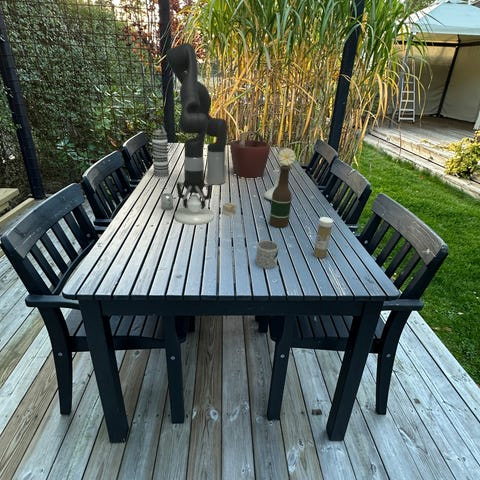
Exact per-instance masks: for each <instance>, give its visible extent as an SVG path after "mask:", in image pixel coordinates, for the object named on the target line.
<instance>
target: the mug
mask: <svg viewBox="0 0 480 480" xmlns="http://www.w3.org/2000/svg"><path fill="white" fill-rule="evenodd" d="M279 246H280V245H279V244H278V243H277V242H274V241H272V240H266V239H264V240H261V241H258V242H257V247H256V258H255V264H256V266H257V268H261V269H264V270H271V269H274V268H276V266H277V264H278V263H277V262H278V255H279V254H278V253H279V248H280V247H279Z"/></svg>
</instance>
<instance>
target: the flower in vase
mask: <svg viewBox="0 0 480 480" xmlns="http://www.w3.org/2000/svg"><path fill="white" fill-rule="evenodd" d="M277 156H278V157H277V159H278V161H279V163H280V164H282V165H286V166H289V167H290V170H289V171H291V170H293V166H292V164H294V162H295V161H296V157H297V156H296V153H295V151H294V149H291V148H288V147H286V148H284V149H281V150H280V151H279V154H278V155H277ZM274 167H276V168H278V169H275V170H273V175H274V185H273V187H271V188H270V189H268V190H267V191H266V192H264V194H263V197H265V199H268V200H269V201H272V194H273V191H274V189H275V188H276V187H277V186H278V182H279V177H280V171H281V169H280V167H281V166H278V165H276V164H275V163H274Z"/></svg>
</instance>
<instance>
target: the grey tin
mask: <svg viewBox="0 0 480 480" xmlns="http://www.w3.org/2000/svg"><path fill="white" fill-rule="evenodd" d="M160 205H161V207H160V208H161V210H163V211H172V210H173V209H174V195H173V194H172V193H168V192H166V193H162V194H160Z"/></svg>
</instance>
